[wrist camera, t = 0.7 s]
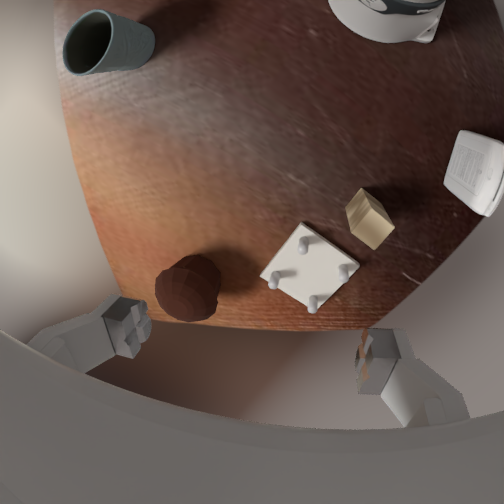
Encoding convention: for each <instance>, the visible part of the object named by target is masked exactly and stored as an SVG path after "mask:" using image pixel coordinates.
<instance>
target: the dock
mask: <svg viewBox="0 0 504 504" xmlns="http://www.w3.org/2000/svg"><path fill="white" fill-rule="evenodd" d="M359 267H360V264H359V263H358V262H357V261H356V260H354V259H353V258H351V257H350V256H349V255H347V254H346V253H345V252H343V251H342V250H340V249H339V248H338V247H336V246H335V245H334V244H332V243H331V242H329V241H328V240H327V239H325V238H324V237H322V236H321V235H319V234H318V233H317V232H315V231H314V230H312V229H311V228H309V227H308V226H307V225H305V224H304V223H302V222H301V223H300V224H299V226H298V227H297V228H296V229H295V231H294V232H293V233H292V234H291V236H290V237H289V238H288V240H287V241H286V242H285V243H284V245H283V246H282V247H281V248H280V250H279V251H278V252H277V254H276V255H275V256H274V257H273V259H272V260H271V261H270V262H269V264H268V265H267V266H266V267H265V269H264V270H263V271H262V272H261V274H260V277H262V278H263V279H265V280H266V281H268V282H269V283H268V286H269V287H270V288H271V289H276V288H279V289H281V290H282V291H284V292H285V293H287V294H289V295H290V296H292V297H293V298H295V299H297V300H298V301H300V302H301V303H303V304H305V305H306V306H308V312H309V313H316V312H317V309H318V308H319V307H320V306H321V305H322V304H323V303H324V302H325V301H326V300H327V299H328V298H329V297H330V296H331V295H332V294H333V293H334V292H335V291H336V290H337V289H338V288H339V287H340V286H341V285H342V284H343V283H345V282H347V281H348V280H349V277H350V276H351V275H352V274H353V273H354V272H355V271H356V270H357V269H358V268H359Z"/></svg>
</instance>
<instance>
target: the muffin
mask: <svg viewBox="0 0 504 504" xmlns="http://www.w3.org/2000/svg"><path fill="white" fill-rule="evenodd" d="M220 285H221V284H220V272H219V271H218V270H217V268H216V267H215V266H214V264H213V263H212V261H210V260H208V259H205V258H203V257H201V256H199V255H194V256H188V257H184V258H182V259H181V260H180V261H178V262H177V263H176V264H174V265H173V266H172V267H171V268H169V269H167V270H163V271H162V272H161V273H160V274H159V276H158V277H157V278H156V283H155V295H156V298H157V300H158V302H159V305H160V307H161V308H162V309H163V310H164V311H165V312H166V313H167V314H169V315H170V316H172V317H174V318H176V319H178V320H181V321H186V322H194V321H201V320H205V319H208V318H209V317H210V316H212V315H213V314H214V313H215V311H216V307H217V304H218V301H217V296H218V293H219V289H220Z"/></svg>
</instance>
